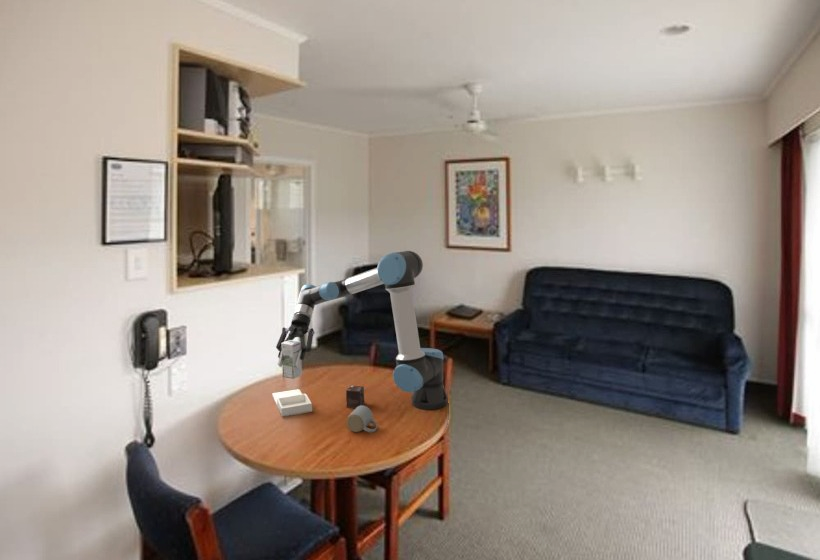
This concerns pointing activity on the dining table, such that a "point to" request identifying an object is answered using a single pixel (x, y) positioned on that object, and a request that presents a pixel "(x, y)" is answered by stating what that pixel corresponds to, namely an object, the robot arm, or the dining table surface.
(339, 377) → the dining table surface
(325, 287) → the robot arm
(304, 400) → the mailer
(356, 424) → the ceramic mug
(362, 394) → the box
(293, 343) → the syrup box
